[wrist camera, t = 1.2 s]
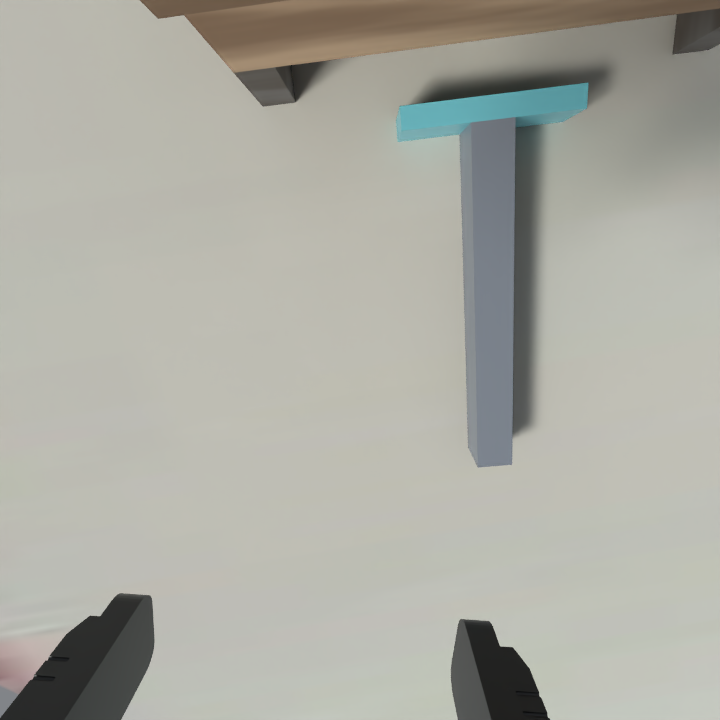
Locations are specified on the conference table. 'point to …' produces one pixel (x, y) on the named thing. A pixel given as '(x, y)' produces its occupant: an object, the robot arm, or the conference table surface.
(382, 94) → the conference table surface
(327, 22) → the cabinet
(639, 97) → the conference table surface
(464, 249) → the scraper
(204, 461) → the conference table surface
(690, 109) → the conference table surface
